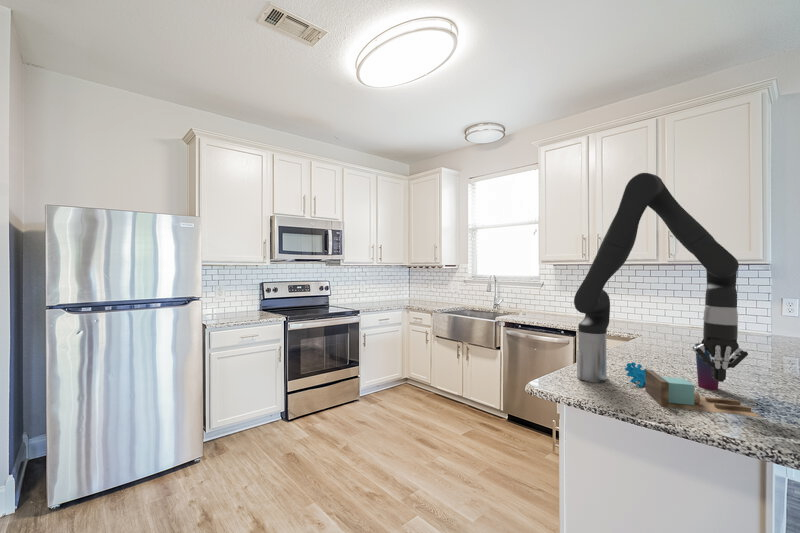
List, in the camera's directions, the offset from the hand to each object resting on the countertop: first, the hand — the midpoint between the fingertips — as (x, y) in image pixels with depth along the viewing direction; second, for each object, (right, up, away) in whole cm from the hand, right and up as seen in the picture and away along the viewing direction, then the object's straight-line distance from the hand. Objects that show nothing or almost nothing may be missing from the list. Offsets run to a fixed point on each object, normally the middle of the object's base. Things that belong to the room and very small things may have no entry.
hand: (718, 380), depth 107 cm
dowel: (-9, -7, +2) cm, 12 cm away
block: (-11, -7, +3) cm, 13 cm away
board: (-5, -8, +1) cm, 9 cm away
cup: (+10, -8, +16) cm, 21 cm away
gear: (-10, -8, +19) cm, 23 cm away
